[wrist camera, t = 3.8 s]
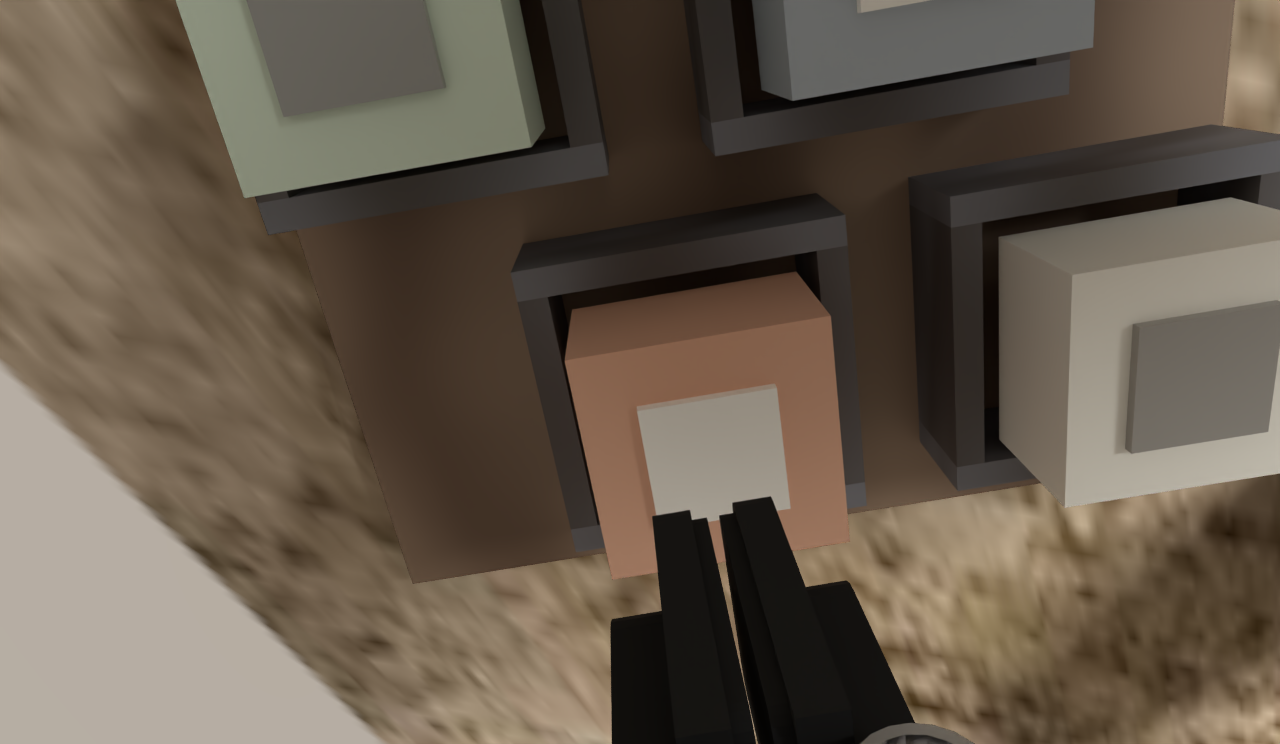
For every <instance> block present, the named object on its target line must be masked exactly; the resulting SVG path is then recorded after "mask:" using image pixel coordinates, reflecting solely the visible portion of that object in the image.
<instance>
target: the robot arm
mask: <svg viewBox="0 0 1280 744" xmlns="http://www.w3.org/2000/svg"><path fill="white" fill-rule="evenodd" d="M732 508H733V513H730V514H724V515H719V520H720V527H721V534H722V540H723V547H724V553H725V560H726V566H727V573H728V579H729V586H730V592H731V599H732V605H733V612H734V618H735V625H736V631H737V638H738V644H739V651H740V657H741V664H742V670H743V676H744V681H745V686H746V691H747V695H746V691H745V686H744V682H743V677H742V673H741V668H740V664H739V659H738V655H737V650H736V646H735V641H734V637H733V632H732V628H731V623H730V619H729V614H728V610H727V605H726V601H725V596H724V592H723V587H722V583H721V578H720V574H719V569H718V565H717V560H716V556H715V551H714V547H713V542H712V538H711V533H710V529H709V524H708V520H707V517H706V518H701V519H695V520H692V518H691V512H690V510H685V511H679V512H673V513H668V514H662V515H656V516H652V521H653V531H654V541H655V550H656V560H657V569H658V579H659V588H660V598H661V607H662V611H659V612H653V613H647V614H641V615H635V616H629V617H623V618H617V619H612V621H611V703H612V744H756V741H755V735H754V730H753V724H752V719H751V714H752V718H753V723H754V727H755V732H756V736H757V741H758V744H974V743H973V742H971V741H969V740H968V739H966V738H964V737H963V736H961V735H959V734H958V733H956V732H954V731H951V730H948V729H944V728H941V727H938V726H935V725H930V724H918V723H915V722H914V720H913V717H912V715H911V713H910V711H909V709H908V707H907V704H906V702H905V700H904V698H903V696H902V694H901V692H900V689H899V687H898V685H897V683H896V681H895V679H894V676H893V674H892V672H891V670H890V668H889V666H888V663H887V661H886V659H885V657H884V655H883V653H882V651H881V648H880V646H879V644H878V642H877V640H876V638H875V635H874V633H873V631H872V629H871V627H870V625H869V622H868V620H867V618H866V616H865V614H864V612H863V609H862V607H861V605H860V603H859V601H858V599H857V597H856V594H855V592H854V590H853V588H852V587H851V585H850V583H849V582H848V581H840V582H834V583H828V584H822V585H816V586H810V587H805V584H804V582H803V579H802V576H801V574H800V571H799V568H798V566H797V563H796V560H795V558H794V555H793V553H792V550H791V547H790V545H789V542H788V539H787V537H786V534H785V531H784V529H783V526H782V523H781V521H780V518H779V515H778V513H777V510H776V507H775V505H774V502H773V500H772V497H771V496H769V497H763V498H757V499H751V500H745V501H739V502H733V503H732ZM747 696H748V700H749V704H748V700H747ZM749 705H750V709H751V714H750V709H749Z"/></svg>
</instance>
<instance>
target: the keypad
mask: <svg viewBox="0 0 1280 744" xmlns="http://www.w3.org/2000/svg"><path fill="white" fill-rule="evenodd" d="M519 2H520V7H521V12H522V17H523V21H524V26H525V31H526V36H527V41H528V46H529V51H530V56H531V61H532V66H533V70H534V75H535V80H536V85H537V90H538V95H539V100H540V105H541V110H542V115H543V119H544V124H545V129H544V131H543V132H542V134H541V135H540V136H539V138H538V139H537V140H536V142H535V143H534V145H533V146H532V147H530V148H524V149H519V150H513V151H507V152H502V153H496V154H491V155H485V156H479V157H474V158H468V159H462V160H457V161H451V162H445V163H440V164H434V165H429V166H423V167H417V168H412V169H406V170H400V171H395V172H389V173H384V174H378V175H372V176H367V177H361V178H355V179H350V180H344V181H338V182H333V183H327V184H322V185H316V186H310V187H305V188H299V189H293V190H288V191H282V192H277V193H271V194H265V195H260V196H255V198H256V201H257V204H258V207H259V210H260V213H261V216H262V218H263V221H264V224H265V227H266V230H267V233H268V235H271V234H277V233H283V232H288V231H294V230H296V231H297V234H298V237H299V240H300V243H301V246H302V249H303V252H304V255H305V258H306V261H307V264H308V267H309V270H310V273H311V276H312V279H313V282H314V285H315V289H316V292H317V295H318V298H319V301H320V304H321V307H322V310H323V313H324V316H325V319H326V322H327V325H328V328H329V331H330V334H331V337H332V340H333V343H334V346H335V349H336V352H337V355H338V358H339V361H340V364H341V367H342V370H343V374H344V377H345V380H346V383H347V386H348V389H349V392H350V395H351V398H352V401H353V404H354V407H355V410H356V413H357V416H358V419H359V422H360V425H361V428H362V431H363V434H364V437H365V440H366V443H367V446H368V449H369V452H370V455H371V458H372V462H373V465H374V468H375V471H376V474H377V477H378V480H379V483H380V486H381V489H382V492H383V495H384V498H385V501H386V504H387V507H388V510H389V513H390V516H391V519H392V522H393V525H394V528H395V531H396V534H397V537H398V540H399V543H400V546H401V550H402V553H403V556H404V559H405V562H406V565H407V568H408V571H409V574H410V577H411V580H412V583H413V584H415V583H421V582H427V581H433V580H439V579H446V578H452V577H458V576H464V575H471V574H477V573H483V572H489V571H496V570H502V569H508V568H514V567H521V566H527V565H533V564H539V563H546V562H552V561H558V560H564V559H571V558H577V557H583V556H589V555H595V554H602V553H606V548H605V544H604V539H603V535H602V530H601V525H600V521H599V516H598V512H597V507H596V502H595V498H594V493H593V489H592V484H591V479H590V475H589V470H588V466H587V461H586V456H585V452H584V447H583V443H582V438H581V434H580V429H579V424H578V420H577V415H576V411H575V406H574V401H573V397H572V392H571V388H570V383H569V378H568V374H567V369H566V365H565V354H566V348H567V341H568V334H569V327H570V320H571V313H572V310H573V309H579V308H584V307H590V306H596V305H602V304H608V303H614V302H620V301H625V300H631V299H637V298H643V297H649V296H655V295H661V294H666V293H672V292H678V291H684V290H690V289H696V288H702V287H708V286H713V285H719V284H725V283H731V282H737V281H743V280H749V279H754V278H760V277H766V276H772V275H778V274H784V273H790V272H795V271H796V272H797V273H798V275H799V276H800V277H801V278H802V280H803V281H804V282H805V283H806V285H807V286H808V287H809V289H810V290H811V291H812V292H813V294H814V295H815V296H816V298H817V299H818V300H819V301H820V303H821V304H822V305H823V306H824V308H825V309H826V310H827V312H828V313H829V314H830V315H831V324H832V336H833V348H834V360H835V372H836V384H837V396H838V408H839V419H840V431H841V443H842V455H843V467H844V479H845V491H846V503H847V514H851V513H858V512H864V511H870V510H876V509H882V508H889V507H895V506H901V505H907V504H914V503H920V502H926V501H932V500H939V499H945V498H951V497H957V496H964V495H970V494H976V493H982V492H989V491H995V490H1001V489H1007V488H1013V487H1020V486H1026V485H1032V484H1038V483H1041V482H1040V481H1039V480H1038V479H1037V478H1036V477H1035V476H1034V475H1033V474H1032V473H1031V472H1030V471H1029V470H1028V469H1027V468H1026V467H1025V466H1024V465H1023V464H1022V463H1021V462H1020V460H1019V459H1018V458H1017V457H1016V456H1015V455H1014V454H1013V453H1012V452H1011V451H1010V450H1009V449H1008V448H1007V447H1006V446H1005V445H1004V444H1003V443H1002V442H1001V441H1000V440H999V237H1001V236H1007V235H1012V234H1018V233H1024V232H1030V231H1036V230H1042V229H1048V228H1053V227H1059V226H1065V225H1071V224H1077V223H1083V222H1089V221H1094V220H1100V219H1106V218H1112V217H1118V216H1124V215H1130V214H1136V213H1141V212H1147V211H1153V210H1159V209H1165V208H1171V207H1177V206H1182V205H1188V204H1194V203H1200V202H1206V201H1212V200H1218V199H1223V198H1229V197H1231V198H1235V199H1239V200H1243V201H1247V202H1251V203H1255V204H1258V205H1262V206H1266V207H1270V208H1274V209H1278V210H1280V134H1274V133H1267V132H1260V131H1253V130H1247V129H1240V128H1233V127H1226V126H1223V118H1224V108H1225V98H1226V87H1227V77H1228V67H1229V56H1230V46H1231V36H1232V25H1233V15H1234V5H1235V0H1095V11H1094V37H1093V48H1087V49H1082V50H1076V51H1071V52H1065V53H1059V54H1054V55H1048V56H1042V57H1037V58H1031V59H1025V60H1020V61H1014V62H1009V63H1003V64H997V65H992V66H986V67H980V68H975V69H969V70H964V71H958V72H952V73H947V74H941V75H935V76H930V77H924V78H918V79H913V80H907V81H902V82H896V83H890V84H885V85H879V86H873V87H868V88H862V89H857V90H851V91H845V92H840V93H834V94H828V95H823V96H817V97H811V98H806V99H800V100H795V101H792V100H789V99H786V98H783V97H780V96H778V95H775V94H772V93H769V92H766V91H763V90H761V81H760V72H759V62H758V53H757V43H756V34H755V25H754V15H753V6H752V0H519Z"/></svg>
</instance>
